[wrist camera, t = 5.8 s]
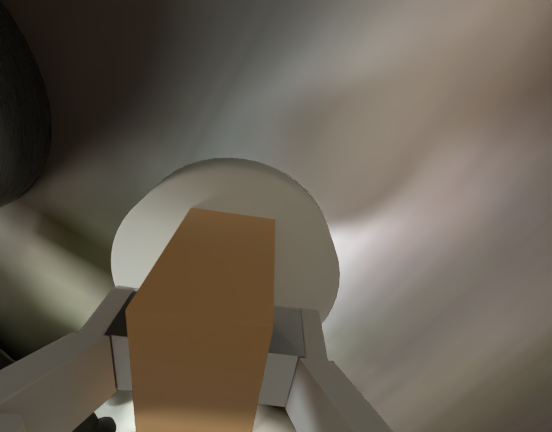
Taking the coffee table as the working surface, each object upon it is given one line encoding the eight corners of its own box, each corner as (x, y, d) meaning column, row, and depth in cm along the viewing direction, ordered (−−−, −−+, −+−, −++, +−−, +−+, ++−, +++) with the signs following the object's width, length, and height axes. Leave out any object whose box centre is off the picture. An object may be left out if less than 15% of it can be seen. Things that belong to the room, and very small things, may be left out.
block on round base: (352, 175, 10) (437, 293, 5) (309, 333, 13) (330, 509, 8) (129, 141, 9) (-55, 230, 4) (140, 312, 12) (41, 486, 7)
